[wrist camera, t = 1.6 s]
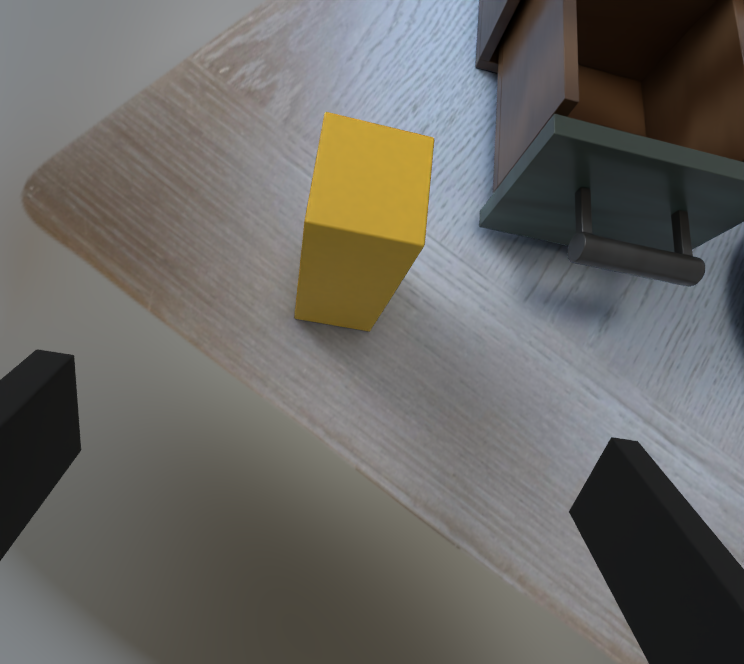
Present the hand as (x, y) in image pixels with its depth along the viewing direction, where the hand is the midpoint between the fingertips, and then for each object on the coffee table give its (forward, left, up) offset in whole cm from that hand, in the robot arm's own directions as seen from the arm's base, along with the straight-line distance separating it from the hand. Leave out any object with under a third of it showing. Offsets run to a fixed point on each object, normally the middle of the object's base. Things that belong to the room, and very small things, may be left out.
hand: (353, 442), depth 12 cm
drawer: (+15, +21, -13) cm, 29 cm away
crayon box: (0, +10, -14) cm, 17 cm away
